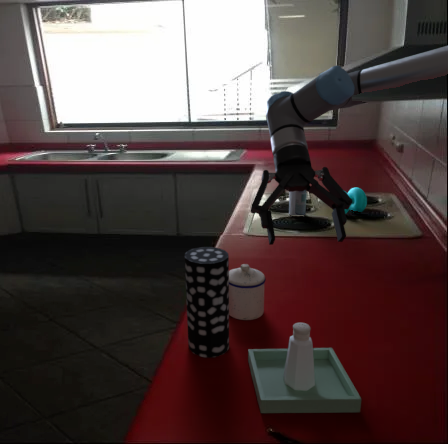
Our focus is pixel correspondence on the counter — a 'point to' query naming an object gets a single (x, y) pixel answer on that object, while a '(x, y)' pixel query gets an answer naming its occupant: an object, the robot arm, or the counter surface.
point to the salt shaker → (300, 359)
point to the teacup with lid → (246, 293)
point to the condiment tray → (297, 399)
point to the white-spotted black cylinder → (207, 301)
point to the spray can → (297, 202)
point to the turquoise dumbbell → (357, 200)
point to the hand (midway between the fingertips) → (307, 240)
